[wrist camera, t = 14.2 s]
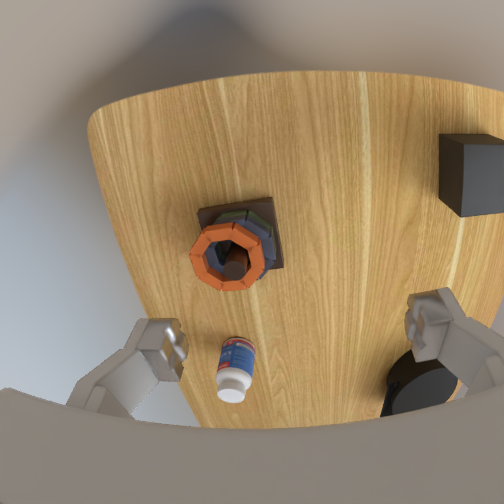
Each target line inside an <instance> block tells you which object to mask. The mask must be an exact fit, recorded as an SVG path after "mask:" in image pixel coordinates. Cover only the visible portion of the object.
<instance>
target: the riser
mask: <svg viewBox="0 0 504 504" xmlns="http://www.w3.org/2000/svg"><path fill="white" fill-rule="evenodd" d="M439 199H440V200H441V201H442V202H444V203H445V204H446V205H447V206H448V207H449V208H450V209H452V210H453V211H454V212H455V213H456V214H457V215H458V216H459V217H470V216H478V215H487V214H496V213H504V140H502V139H499V138H496V137H494V136H491V135H487V134H439Z"/></svg>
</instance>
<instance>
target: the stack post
mask: <svg viewBox="0 0 504 504" xmlns="http://www.w3.org/2000/svg"><path fill="white" fill-rule="evenodd" d="M197 216H198V219H199V223H200V226H201V230H202V231H203V229H204V228H206V227H207V226H211V225H217V224H224V223H230V222H233V224H235V223H237V224H239V225H240V226H242V227H244V228H245V229H247V230H248V231H250V232H251V233H253V234H255V235H256V236H258V237H259V239H260V240H261V244H262V249H263V254H264V259H265V268H264V271H263V273H262V274H261V275H260V276H259V277H258V278H259V279H261V278H262V277H263V276H264V274H265V273H266V272H267V271H268V270H271V269H279V268H284V260H283V254H282V248H281V242H280V236H279V231H278V225H277V219H276V214H275V208H274V203H273V197H269V198H262V199H256V200H249V201H243V202H237V203H231V204H225V205H219V206H213V207H207V208H201V209H199V211H198V212H197ZM259 239H258V240H259ZM205 255H206V258H207V261H208V265H209V266H210V267H212V268H213V269H215V270H217V271H218V272H220V273H222V274H223V275H225V276H226V277H227V278H228V279H230V280H233V281H237V280H241V279H242V278H243V277H244V276H245V274H246V270H247V267H248V266H249V264H250V259H249V254H248V250H247V249H245V248H243V247H242V246H240V245H238V244H237V243H235V242H234V241H232V240H223V241H216V242H211V243H210V245H209V246H208V248H207V249H206V251H205ZM258 278H257V279H256V280H258Z"/></svg>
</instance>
